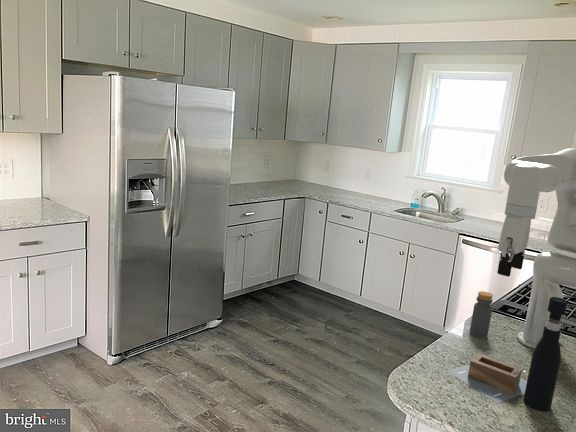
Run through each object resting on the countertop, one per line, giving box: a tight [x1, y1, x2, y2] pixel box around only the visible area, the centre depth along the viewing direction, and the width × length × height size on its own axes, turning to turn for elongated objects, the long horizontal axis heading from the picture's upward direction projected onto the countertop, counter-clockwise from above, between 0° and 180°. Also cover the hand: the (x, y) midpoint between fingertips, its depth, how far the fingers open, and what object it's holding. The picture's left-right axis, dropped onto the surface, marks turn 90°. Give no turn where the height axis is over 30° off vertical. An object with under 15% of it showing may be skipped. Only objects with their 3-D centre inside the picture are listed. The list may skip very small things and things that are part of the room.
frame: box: [468, 352, 523, 395], centre depth 137 cm, size 6×12×5 cm, turn 51°
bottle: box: [469, 290, 494, 339], centre depth 169 cm, size 6×6×15 cm
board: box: [446, 364, 527, 404], centre depth 139 cm, size 18×17×4 cm
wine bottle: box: [523, 297, 568, 412], centre depth 125 cm, size 6×6×30 cm
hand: (509, 271), depth 136 cm, fingers open, 9 cm apart
